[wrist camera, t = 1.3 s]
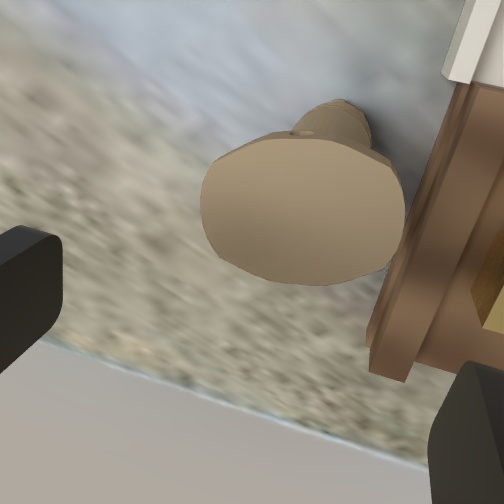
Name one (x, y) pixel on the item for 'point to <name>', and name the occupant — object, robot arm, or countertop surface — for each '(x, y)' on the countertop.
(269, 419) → the countertop surface
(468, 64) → the tray
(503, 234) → the chip
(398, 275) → the slot board
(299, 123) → the handle
